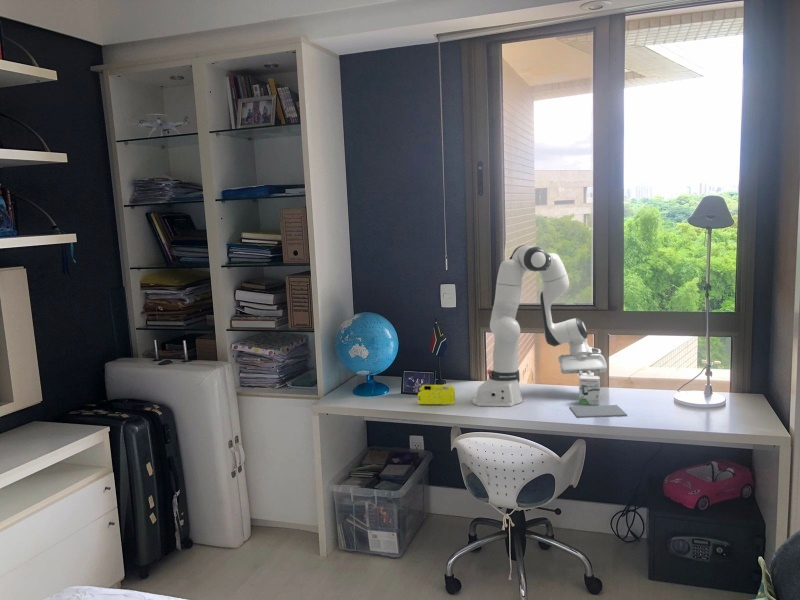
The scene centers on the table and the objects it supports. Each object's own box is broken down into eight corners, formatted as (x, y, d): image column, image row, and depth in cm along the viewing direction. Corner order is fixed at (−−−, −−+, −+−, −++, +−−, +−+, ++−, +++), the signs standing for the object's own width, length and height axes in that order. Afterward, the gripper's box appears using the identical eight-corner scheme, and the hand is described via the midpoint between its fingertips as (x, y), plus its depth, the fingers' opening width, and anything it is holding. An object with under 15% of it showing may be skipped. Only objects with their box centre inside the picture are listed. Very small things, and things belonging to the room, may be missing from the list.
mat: (577, 417, 261) (577, 416, 260) (569, 407, 274) (569, 406, 274) (627, 415, 260) (627, 414, 260) (616, 406, 274) (616, 404, 274)
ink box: (578, 404, 279) (578, 377, 278) (579, 401, 284) (579, 375, 282) (599, 405, 276) (599, 378, 275) (600, 402, 281) (599, 375, 280)
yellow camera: (455, 402, 291) (454, 384, 290) (453, 406, 286) (453, 387, 285) (420, 402, 294) (419, 384, 293) (418, 405, 289) (417, 387, 288)
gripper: (558, 351, 291) (563, 377, 282) (604, 349, 290) (610, 375, 282) (556, 358, 296) (561, 384, 287) (601, 357, 295) (607, 383, 286)
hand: (586, 380), depth 284 cm, fingers closed
